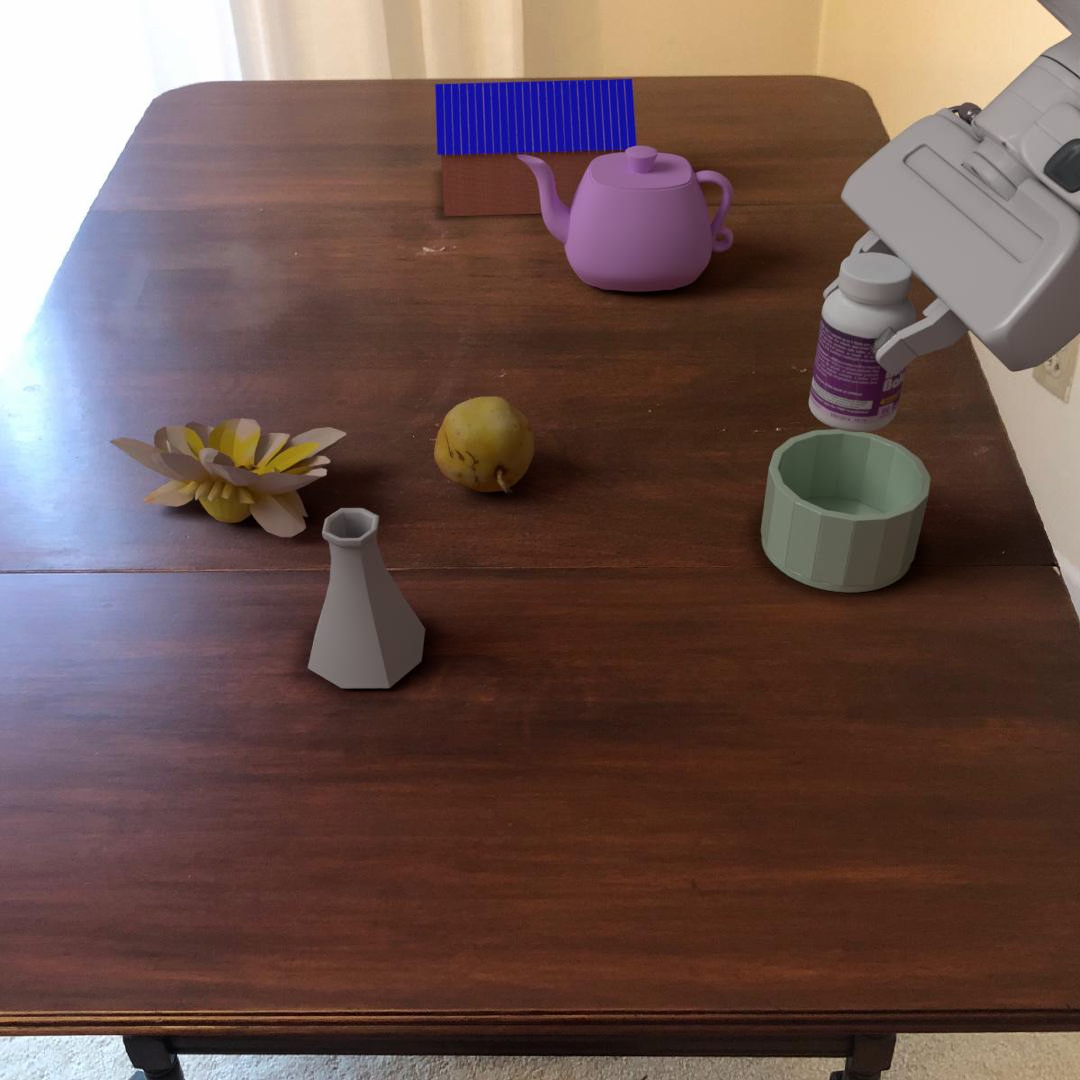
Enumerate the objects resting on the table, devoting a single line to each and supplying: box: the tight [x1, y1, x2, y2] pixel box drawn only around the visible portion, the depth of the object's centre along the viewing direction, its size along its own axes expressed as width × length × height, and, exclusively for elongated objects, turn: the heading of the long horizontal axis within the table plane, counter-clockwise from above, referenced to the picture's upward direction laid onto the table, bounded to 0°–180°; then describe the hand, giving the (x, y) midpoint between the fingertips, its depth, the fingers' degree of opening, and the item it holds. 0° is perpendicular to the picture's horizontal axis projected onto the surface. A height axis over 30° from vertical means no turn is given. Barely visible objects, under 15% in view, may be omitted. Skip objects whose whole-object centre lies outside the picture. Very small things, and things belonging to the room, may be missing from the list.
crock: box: [760, 428, 932, 594], centre depth 81 cm, size 10×10×6 cm
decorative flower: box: [109, 417, 347, 538], centre depth 85 cm, size 15×11×10 cm
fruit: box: [433, 394, 535, 495], centre depth 87 cm, size 7×7×10 cm
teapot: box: [517, 145, 734, 293], centre depth 112 cm, size 20×13×12 cm, turn 89°
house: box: [434, 78, 637, 217], centre depth 127 cm, size 12×20×12 cm, turn 93°
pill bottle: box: [808, 252, 917, 433], centre depth 72 cm, size 5×5×10 cm
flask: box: [307, 507, 426, 689], centre depth 72 cm, size 7×7×10 cm
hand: (855, 335), depth 71 cm, fingers closed on pill bottle, 5 cm apart
